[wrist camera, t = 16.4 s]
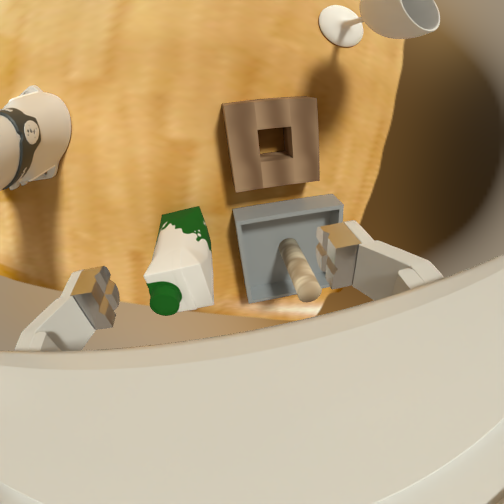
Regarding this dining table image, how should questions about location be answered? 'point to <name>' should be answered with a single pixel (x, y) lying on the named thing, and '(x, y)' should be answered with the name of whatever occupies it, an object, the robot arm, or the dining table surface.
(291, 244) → the dowel
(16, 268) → the dining table surface
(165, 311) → the milk carton
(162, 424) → the robot arm
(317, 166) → the socket block
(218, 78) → the dining table surface
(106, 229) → the dining table surface
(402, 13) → the wineglass
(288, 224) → the tray
